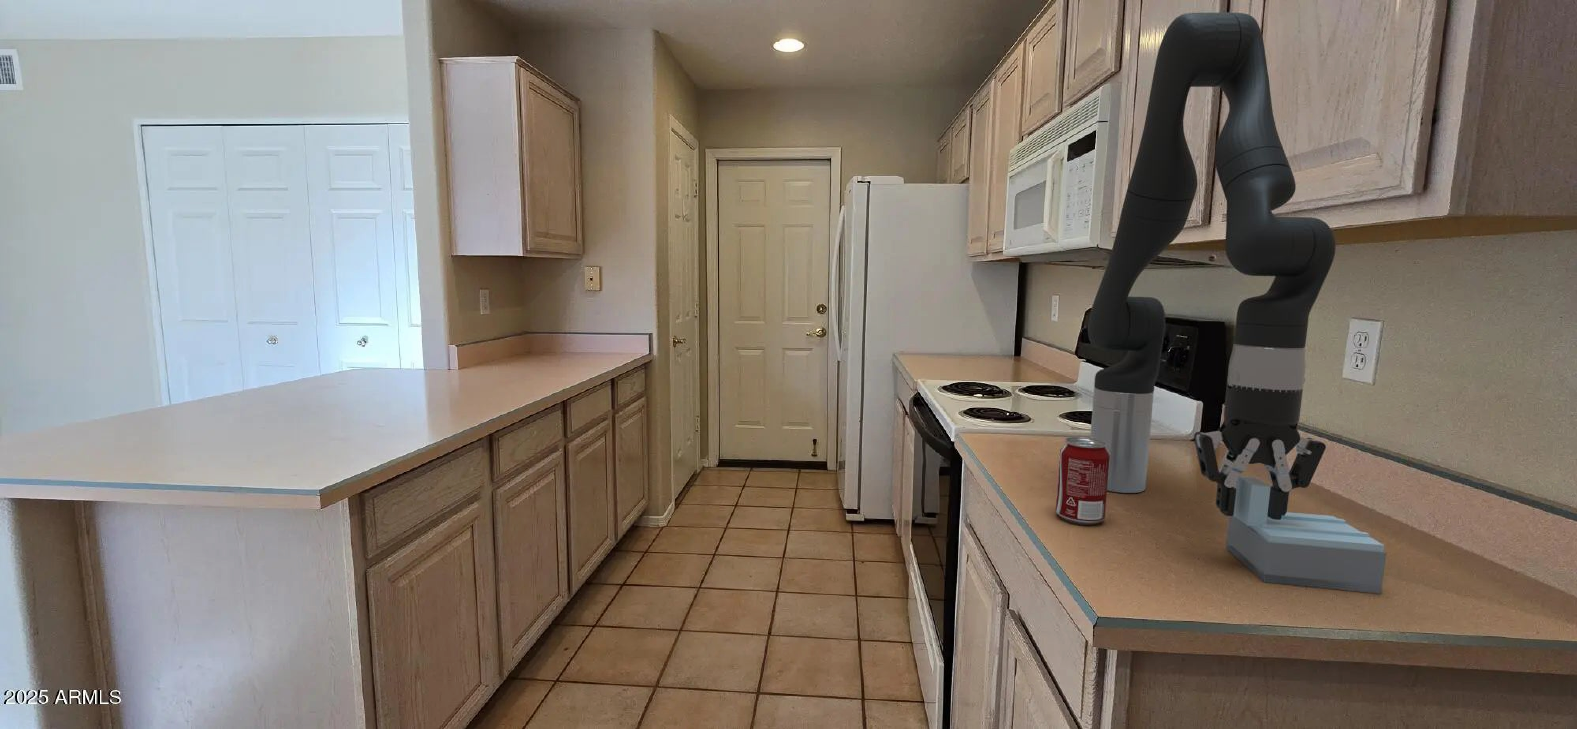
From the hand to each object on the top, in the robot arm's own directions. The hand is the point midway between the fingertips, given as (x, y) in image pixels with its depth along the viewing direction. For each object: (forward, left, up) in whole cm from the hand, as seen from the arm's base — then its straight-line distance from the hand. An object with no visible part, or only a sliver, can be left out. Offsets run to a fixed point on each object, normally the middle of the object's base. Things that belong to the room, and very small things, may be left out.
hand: (1249, 515), depth 81 cm
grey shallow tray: (0, +6, -7) cm, 9 cm away
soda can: (-12, -17, -7) cm, 22 cm away
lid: (0, +6, -2) cm, 6 cm away
